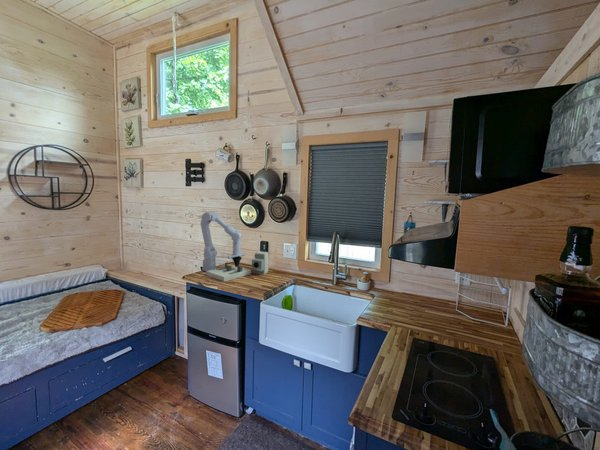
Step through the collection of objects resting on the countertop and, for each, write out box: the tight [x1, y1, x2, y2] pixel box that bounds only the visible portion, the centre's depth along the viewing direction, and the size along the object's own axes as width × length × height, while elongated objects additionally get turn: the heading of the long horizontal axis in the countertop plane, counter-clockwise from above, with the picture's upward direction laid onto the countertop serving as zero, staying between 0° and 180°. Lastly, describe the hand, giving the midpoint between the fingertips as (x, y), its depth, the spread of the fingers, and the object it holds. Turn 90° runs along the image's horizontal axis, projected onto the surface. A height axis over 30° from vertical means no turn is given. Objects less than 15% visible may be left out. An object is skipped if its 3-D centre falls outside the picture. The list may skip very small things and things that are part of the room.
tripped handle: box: [227, 263, 233, 271], centre depth 205 cm, size 3×2×4 cm, turn 52°
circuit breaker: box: [251, 250, 270, 275], centre depth 210 cm, size 8×14×15 cm, turn 163°
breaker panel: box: [205, 262, 252, 282], centre depth 205 cm, size 20×24×7 cm
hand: (236, 266), depth 211 cm, fingers closed
